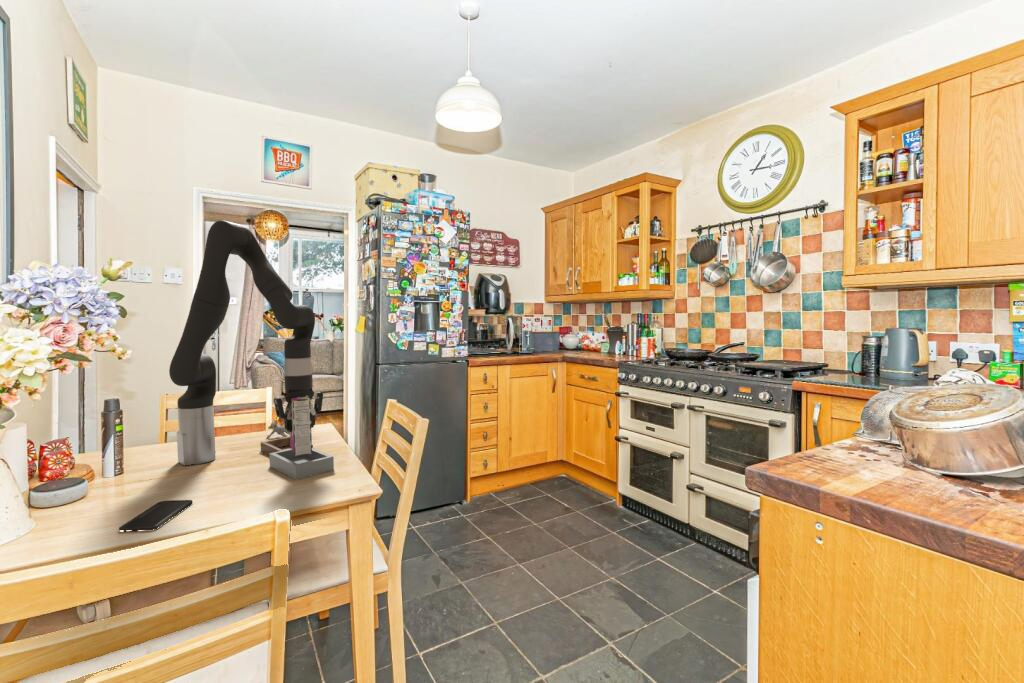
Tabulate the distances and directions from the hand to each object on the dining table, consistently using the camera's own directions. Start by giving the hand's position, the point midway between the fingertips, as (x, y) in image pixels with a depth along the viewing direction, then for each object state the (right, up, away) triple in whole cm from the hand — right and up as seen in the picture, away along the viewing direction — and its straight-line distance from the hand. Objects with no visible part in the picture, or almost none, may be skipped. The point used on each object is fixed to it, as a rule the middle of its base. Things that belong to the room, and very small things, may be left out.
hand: (300, 429), depth 142 cm
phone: (-18, -15, -32) cm, 40 cm away
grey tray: (0, -12, +1) cm, 12 cm away
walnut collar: (-12, -11, +16) cm, 23 cm away
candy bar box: (0, -7, +1) cm, 7 cm away
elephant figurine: (-22, -10, +35) cm, 43 cm away
